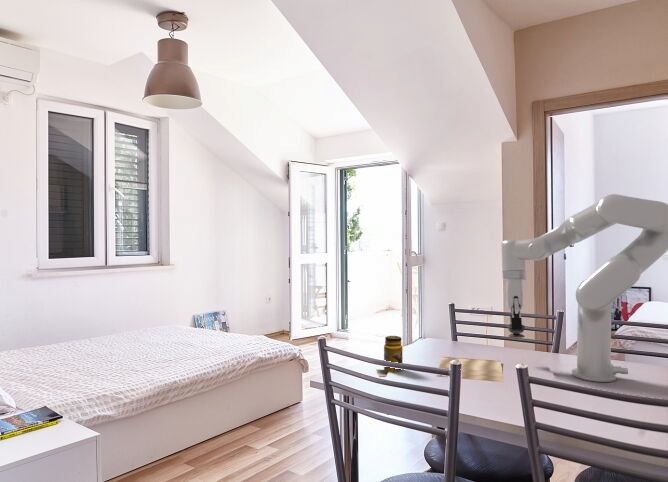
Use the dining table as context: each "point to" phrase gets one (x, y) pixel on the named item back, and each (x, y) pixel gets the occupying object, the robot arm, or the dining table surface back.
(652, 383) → the dining table surface
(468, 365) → the board
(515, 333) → the dark grey tall piece
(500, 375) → the laid floor planks
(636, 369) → the dining table surface
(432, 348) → the dining table surface
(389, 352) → the condiment
